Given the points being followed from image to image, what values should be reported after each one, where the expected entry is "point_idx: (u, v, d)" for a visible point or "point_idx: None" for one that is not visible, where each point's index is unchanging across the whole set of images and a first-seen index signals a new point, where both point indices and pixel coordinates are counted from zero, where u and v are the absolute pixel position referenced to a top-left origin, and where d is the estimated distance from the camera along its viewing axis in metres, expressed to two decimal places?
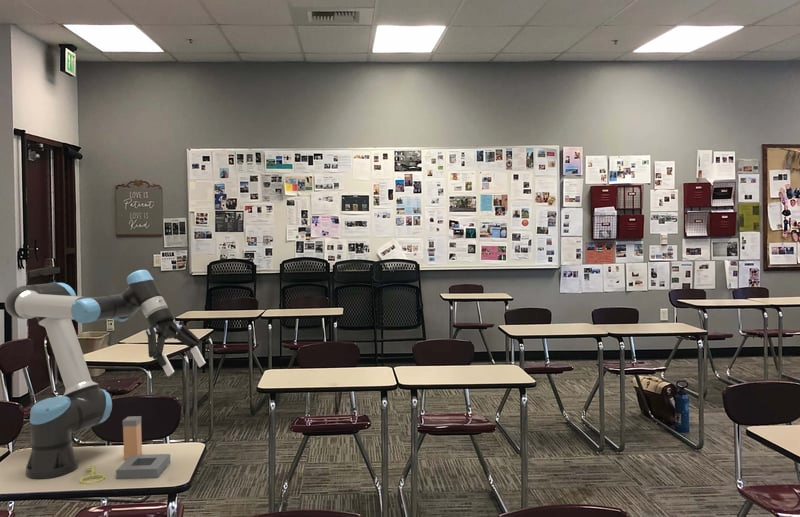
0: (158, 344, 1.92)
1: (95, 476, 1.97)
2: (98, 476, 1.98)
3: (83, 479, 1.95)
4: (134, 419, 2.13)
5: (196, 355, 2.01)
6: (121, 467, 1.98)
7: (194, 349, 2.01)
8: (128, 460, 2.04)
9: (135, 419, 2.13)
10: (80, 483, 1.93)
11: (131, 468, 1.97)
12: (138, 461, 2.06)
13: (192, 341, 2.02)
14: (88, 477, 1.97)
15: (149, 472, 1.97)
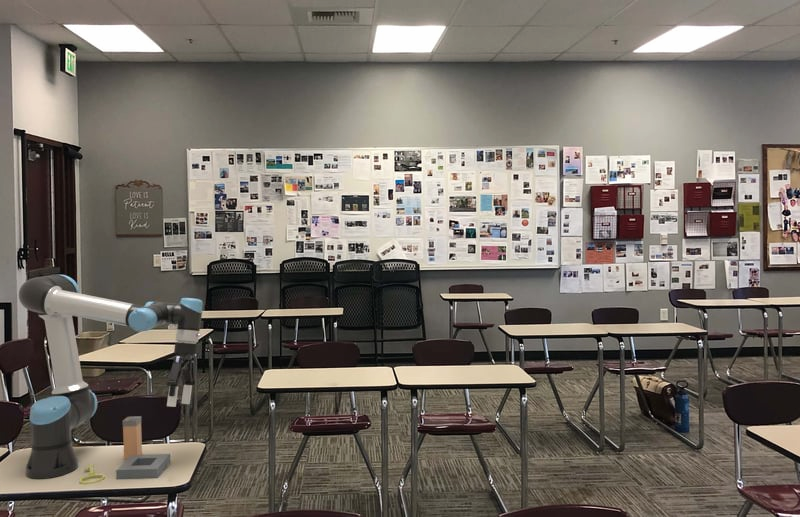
0: None
1: (94, 476, 1.98)
2: (97, 476, 1.98)
3: (82, 479, 1.95)
4: (134, 419, 2.13)
5: (186, 393, 2.16)
6: (121, 467, 1.98)
7: (188, 387, 2.16)
8: (128, 460, 2.04)
9: (135, 419, 2.13)
10: (80, 483, 1.93)
11: (131, 468, 1.97)
12: (138, 461, 2.06)
13: (192, 379, 2.17)
14: (87, 477, 1.97)
15: (149, 472, 1.97)
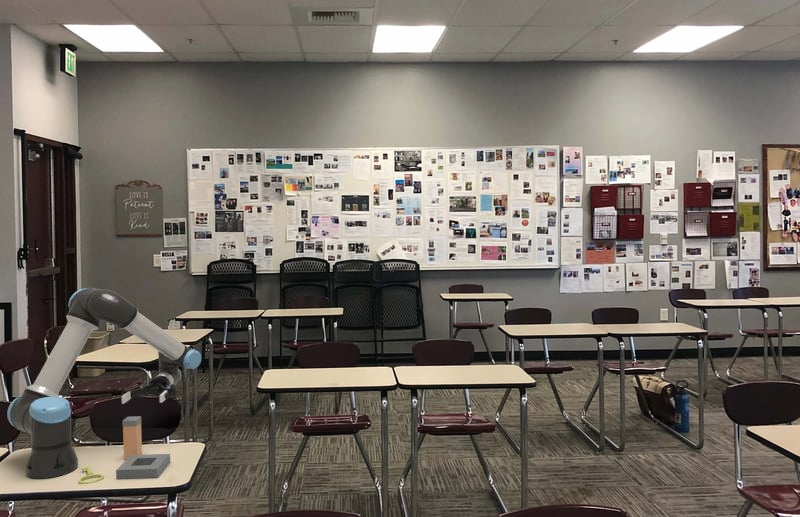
0: None
1: (93, 476, 1.98)
2: (96, 476, 1.98)
3: (81, 479, 1.95)
4: (134, 419, 2.13)
5: (127, 397, 2.27)
6: (121, 467, 1.98)
7: (129, 396, 2.29)
8: (128, 460, 2.04)
9: (135, 419, 2.13)
10: (79, 483, 1.93)
11: (131, 468, 1.97)
12: (138, 461, 2.06)
13: None
14: (86, 477, 1.97)
15: (149, 472, 1.97)
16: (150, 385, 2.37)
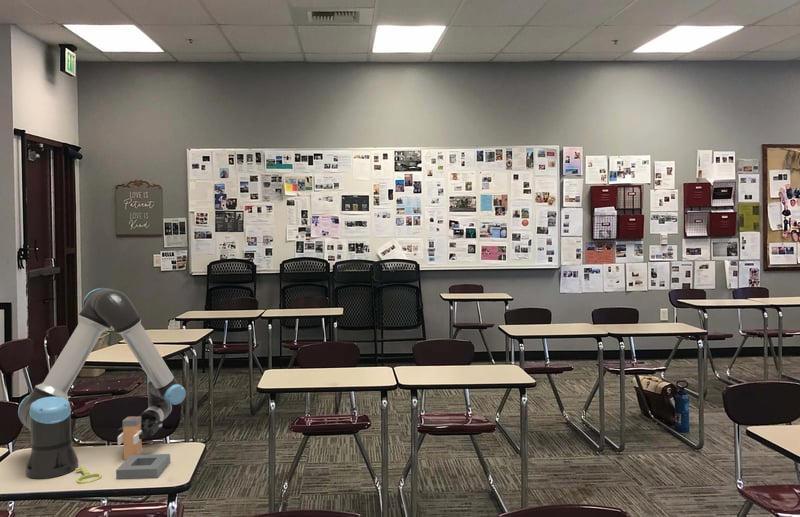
0: (147, 429, 2.20)
1: (90, 475, 1.98)
2: (93, 475, 1.98)
3: (79, 479, 1.95)
4: (134, 419, 2.13)
5: None
6: (121, 467, 1.98)
7: None
8: (128, 460, 2.04)
9: (135, 419, 2.13)
10: (78, 483, 1.93)
11: (131, 468, 1.97)
12: (138, 461, 2.06)
13: None
14: (83, 477, 1.97)
15: (149, 472, 1.97)
16: None
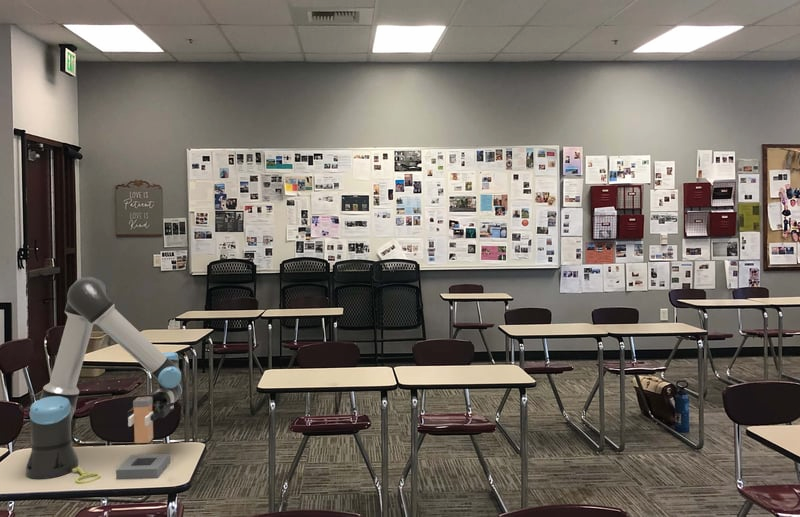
0: (158, 411, 2.09)
1: (89, 475, 1.98)
2: (92, 475, 1.99)
3: (78, 479, 1.95)
4: (145, 400, 2.01)
5: None
6: (121, 467, 1.98)
7: None
8: (128, 460, 2.04)
9: (146, 399, 2.02)
10: (77, 483, 1.93)
11: (131, 468, 1.97)
12: (138, 461, 2.06)
13: None
14: (82, 477, 1.97)
15: (149, 472, 1.97)
16: None
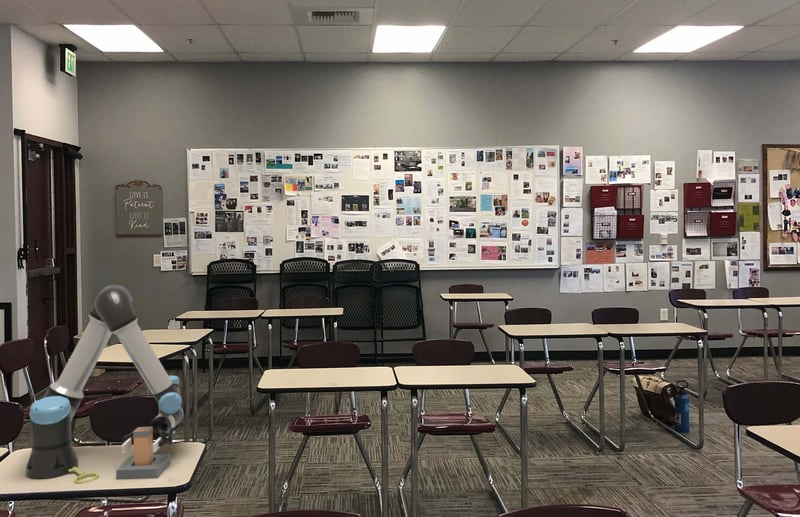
0: None
1: (87, 475, 1.98)
2: (90, 475, 1.99)
3: (76, 479, 1.95)
4: (145, 430, 2.01)
5: (128, 445, 2.02)
6: (121, 467, 1.98)
7: (130, 444, 2.04)
8: (128, 460, 2.04)
9: (146, 430, 2.02)
10: (76, 483, 1.93)
11: (131, 468, 1.97)
12: None
13: None
14: (80, 477, 1.97)
15: (149, 472, 1.97)
16: None
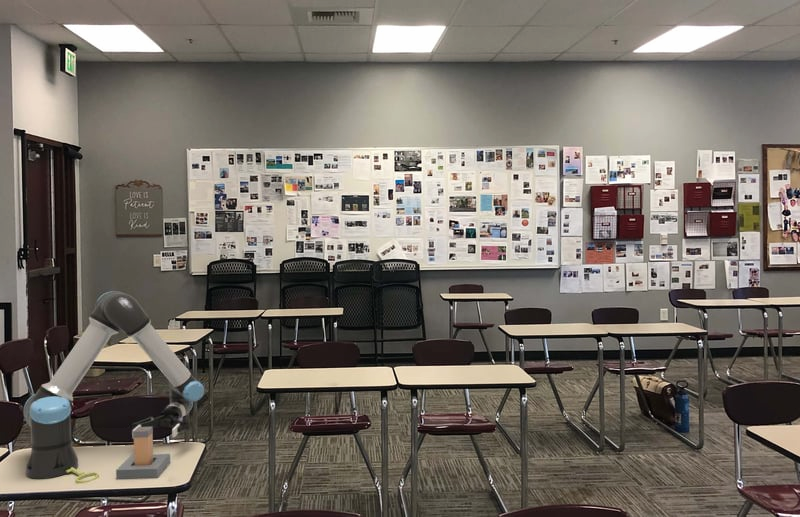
0: None
1: (87, 475, 1.99)
2: (90, 474, 1.99)
3: (77, 479, 1.95)
4: (145, 430, 2.01)
5: None
6: (121, 467, 1.98)
7: None
8: (128, 460, 2.04)
9: (146, 430, 2.02)
10: None
11: (131, 468, 1.97)
12: None
13: None
14: (81, 477, 1.97)
15: (149, 472, 1.97)
16: (161, 417, 2.26)
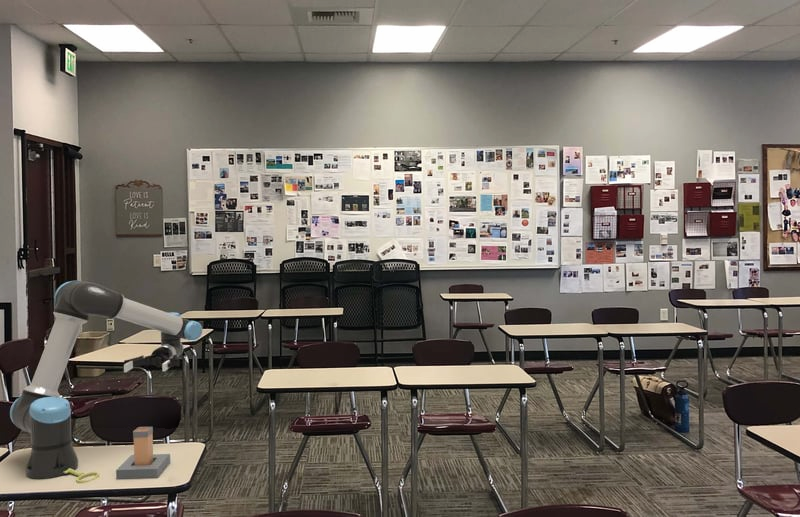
0: None
1: (87, 475, 1.99)
2: (89, 474, 1.99)
3: (78, 479, 1.95)
4: (145, 430, 2.01)
5: (130, 366, 2.24)
6: (121, 467, 1.98)
7: (132, 366, 2.26)
8: (128, 460, 2.04)
9: (146, 430, 2.02)
10: None
11: (131, 468, 1.97)
12: None
13: None
14: (81, 477, 1.97)
15: (149, 472, 1.97)
16: (152, 355, 2.34)
